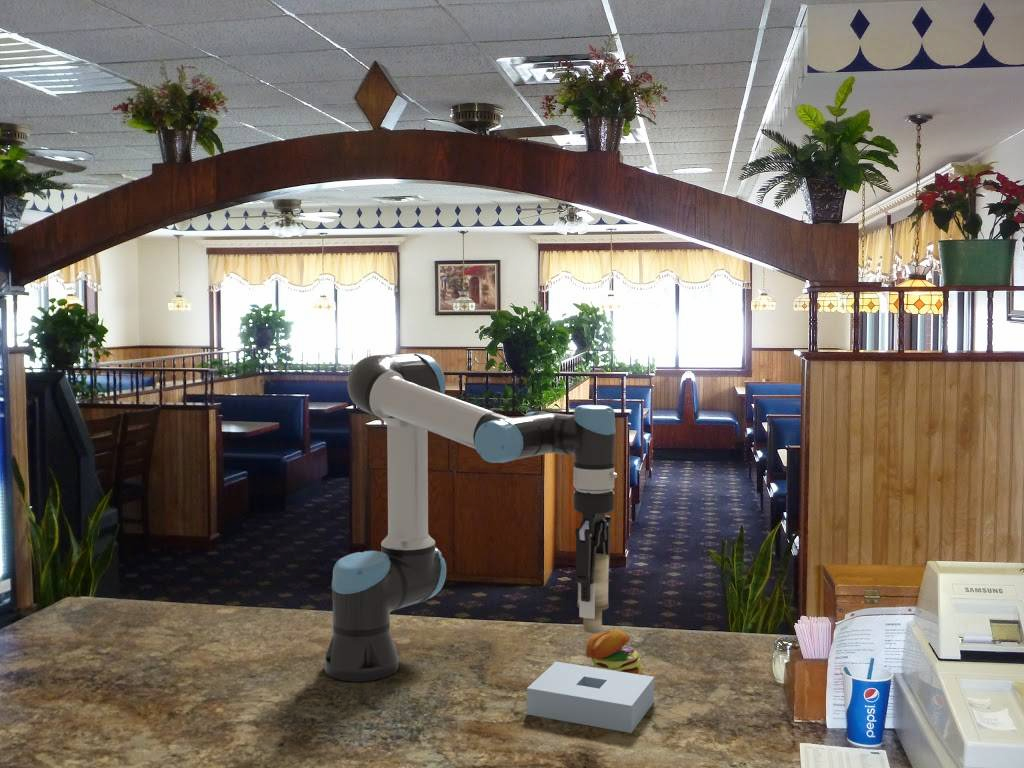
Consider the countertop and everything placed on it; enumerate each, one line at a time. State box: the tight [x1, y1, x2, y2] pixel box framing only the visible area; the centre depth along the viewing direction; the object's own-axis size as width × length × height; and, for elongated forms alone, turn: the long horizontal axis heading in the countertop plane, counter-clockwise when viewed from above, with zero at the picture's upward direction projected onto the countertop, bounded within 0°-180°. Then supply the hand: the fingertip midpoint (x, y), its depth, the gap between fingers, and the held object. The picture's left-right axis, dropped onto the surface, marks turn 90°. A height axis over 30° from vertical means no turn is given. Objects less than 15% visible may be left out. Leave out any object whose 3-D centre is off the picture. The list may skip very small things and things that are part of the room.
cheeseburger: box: [585, 628, 644, 675], centre depth 207 cm, size 10×11×10 cm
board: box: [526, 661, 655, 734], centre depth 189 cm, size 20×15×5 cm
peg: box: [576, 553, 610, 634], centre depth 187 cm, size 6×6×14 cm
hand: (592, 612), depth 188 cm, fingers closed on peg, 6 cm apart
